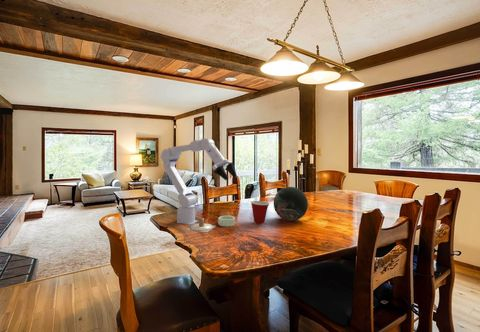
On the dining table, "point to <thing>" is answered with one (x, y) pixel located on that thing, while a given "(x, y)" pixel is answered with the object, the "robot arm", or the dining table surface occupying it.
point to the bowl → (226, 221)
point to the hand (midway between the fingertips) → (231, 177)
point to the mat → (202, 231)
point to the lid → (201, 226)
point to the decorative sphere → (290, 203)
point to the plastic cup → (259, 211)
